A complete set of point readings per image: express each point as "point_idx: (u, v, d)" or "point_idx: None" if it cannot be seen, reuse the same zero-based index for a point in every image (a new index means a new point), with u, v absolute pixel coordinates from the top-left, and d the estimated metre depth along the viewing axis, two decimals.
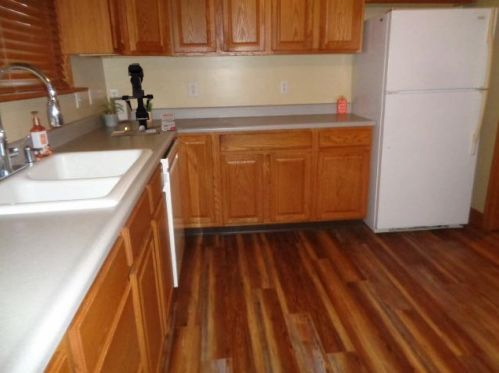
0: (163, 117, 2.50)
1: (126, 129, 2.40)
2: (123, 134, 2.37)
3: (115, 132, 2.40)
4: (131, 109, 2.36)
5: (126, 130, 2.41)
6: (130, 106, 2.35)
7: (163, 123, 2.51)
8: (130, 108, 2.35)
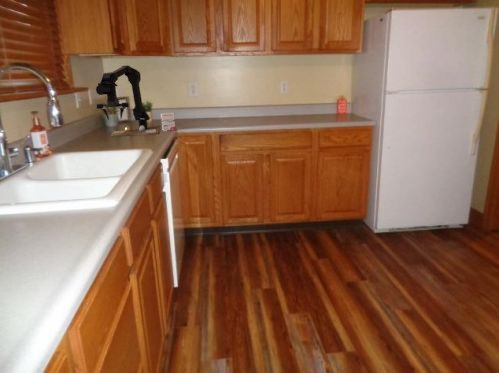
0: (163, 117, 2.50)
1: (126, 129, 2.40)
2: (123, 134, 2.37)
3: (115, 132, 2.40)
4: (108, 117, 2.37)
5: (126, 130, 2.41)
6: (107, 114, 2.36)
7: (163, 123, 2.51)
8: (107, 116, 2.36)
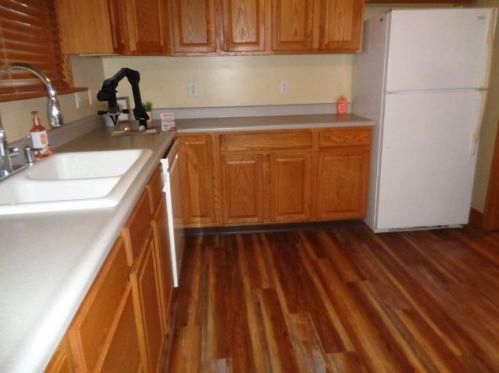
0: (163, 117, 2.50)
1: (126, 129, 2.40)
2: (123, 134, 2.37)
3: (115, 132, 2.40)
4: (114, 123, 2.39)
5: (126, 130, 2.41)
6: (113, 120, 2.38)
7: (163, 123, 2.51)
8: (113, 122, 2.38)
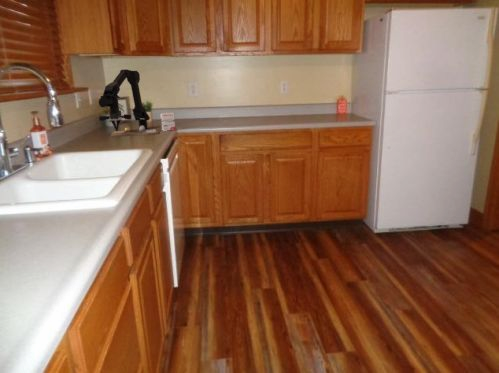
0: (163, 117, 2.50)
1: (126, 129, 2.40)
2: (123, 134, 2.37)
3: (115, 132, 2.40)
4: (116, 128, 2.40)
5: (126, 130, 2.41)
6: (115, 126, 2.39)
7: (163, 123, 2.51)
8: (115, 128, 2.39)
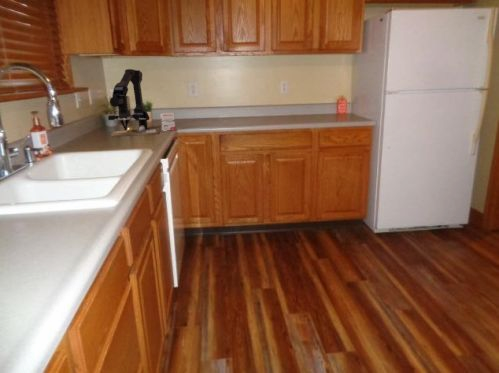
0: (163, 117, 2.50)
1: (128, 129, 2.41)
2: (123, 134, 2.37)
3: (117, 132, 2.40)
4: (125, 128, 2.41)
5: (128, 130, 2.41)
6: (124, 125, 2.40)
7: (163, 123, 2.51)
8: (124, 127, 2.41)
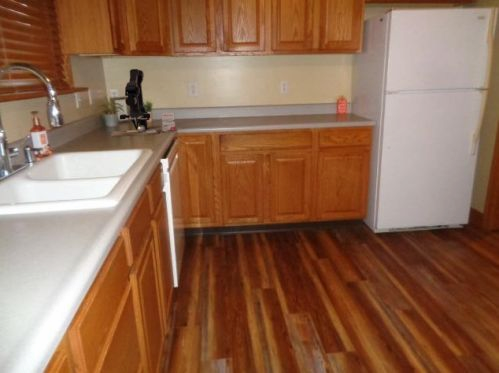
0: (163, 117, 2.50)
1: None
2: (123, 134, 2.37)
3: (129, 131, 2.41)
4: (136, 127, 2.42)
5: None
6: (135, 124, 2.42)
7: (163, 123, 2.51)
8: (135, 126, 2.42)
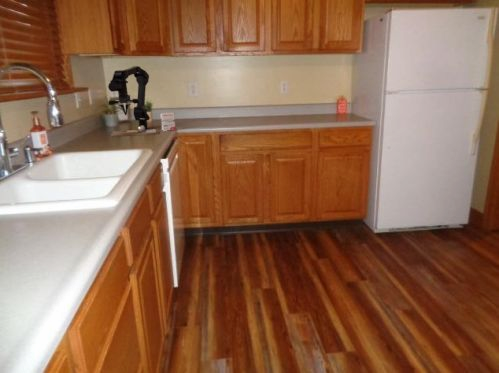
0: (163, 117, 2.50)
1: None
2: (123, 134, 2.37)
3: (129, 131, 2.41)
4: (125, 113, 2.47)
5: None
6: (124, 110, 2.46)
7: (163, 123, 2.51)
8: (124, 112, 2.46)
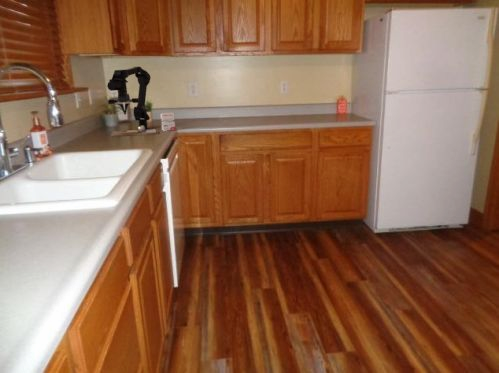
0: (163, 117, 2.50)
1: None
2: (123, 134, 2.37)
3: (129, 131, 2.41)
4: (124, 112, 2.48)
5: None
6: (123, 109, 2.47)
7: (163, 123, 2.51)
8: (123, 111, 2.47)
